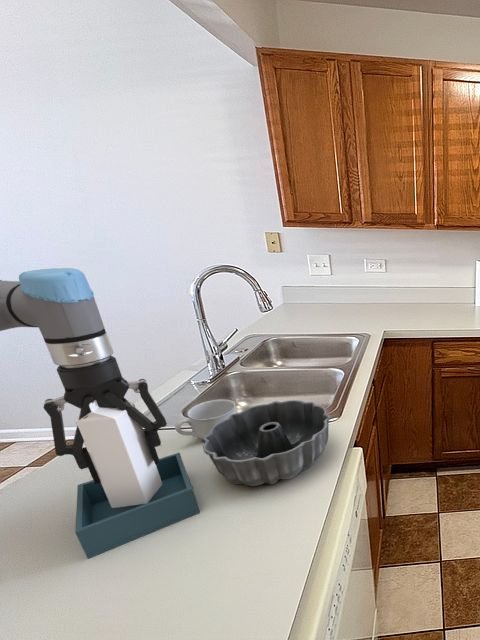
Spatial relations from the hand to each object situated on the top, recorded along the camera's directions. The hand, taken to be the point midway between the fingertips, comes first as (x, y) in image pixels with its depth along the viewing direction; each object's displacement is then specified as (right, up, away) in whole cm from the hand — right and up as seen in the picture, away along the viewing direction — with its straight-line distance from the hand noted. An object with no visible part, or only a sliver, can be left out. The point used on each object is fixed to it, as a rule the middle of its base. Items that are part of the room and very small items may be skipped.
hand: (128, 469), depth 76 cm
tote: (0, -9, +4) cm, 10 cm away
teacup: (-4, +1, +30) cm, 30 cm away
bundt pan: (+19, -4, +19) cm, 27 cm away
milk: (0, -6, +2) cm, 6 cm away
